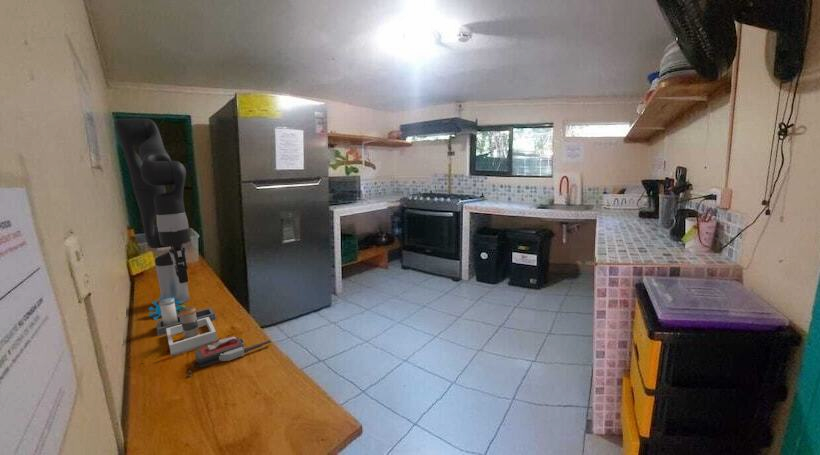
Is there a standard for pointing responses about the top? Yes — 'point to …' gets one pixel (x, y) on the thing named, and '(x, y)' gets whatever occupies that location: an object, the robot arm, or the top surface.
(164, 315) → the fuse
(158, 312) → the gear
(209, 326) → the parts tray
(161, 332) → the fuse block
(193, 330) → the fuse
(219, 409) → the top surface
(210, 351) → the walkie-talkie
